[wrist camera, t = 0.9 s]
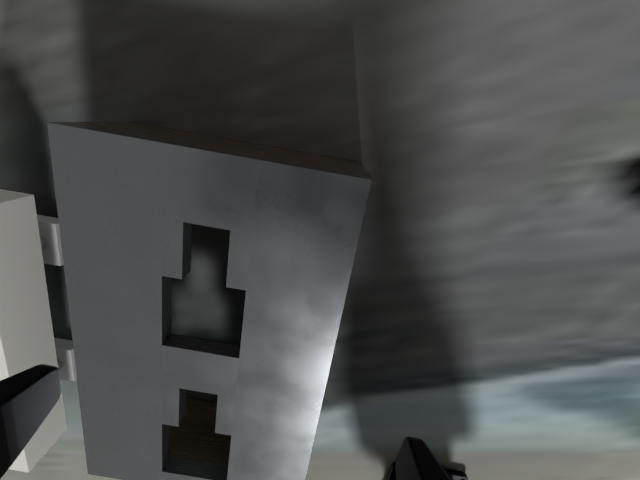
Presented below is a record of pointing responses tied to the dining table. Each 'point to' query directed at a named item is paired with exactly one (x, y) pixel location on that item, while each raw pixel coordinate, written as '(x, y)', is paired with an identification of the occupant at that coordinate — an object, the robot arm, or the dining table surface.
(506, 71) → the dining table surface
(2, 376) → the power strip
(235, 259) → the keyhole board
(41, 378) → the robot arm
